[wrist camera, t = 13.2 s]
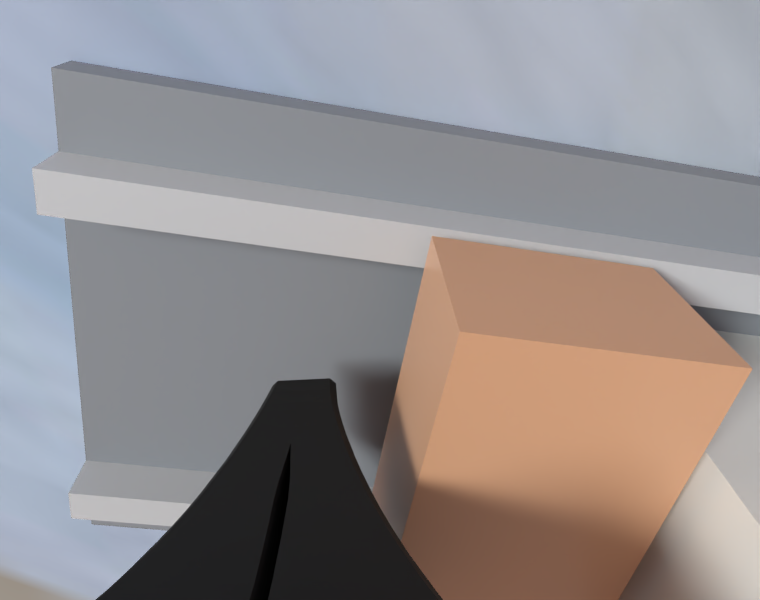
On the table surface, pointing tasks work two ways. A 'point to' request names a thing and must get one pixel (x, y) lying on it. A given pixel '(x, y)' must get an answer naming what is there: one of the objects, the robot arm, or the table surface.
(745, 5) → the table surface
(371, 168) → the rail holder
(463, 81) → the table surface
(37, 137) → the table surface
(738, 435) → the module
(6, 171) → the table surface
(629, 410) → the peach block
